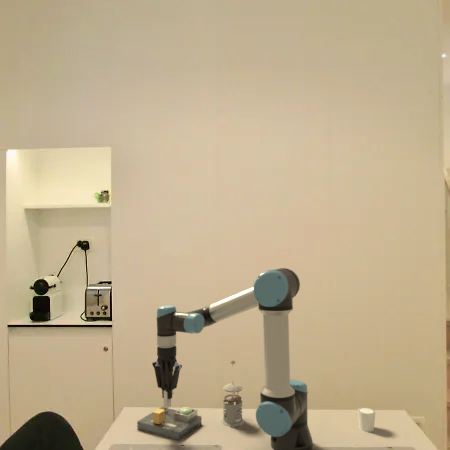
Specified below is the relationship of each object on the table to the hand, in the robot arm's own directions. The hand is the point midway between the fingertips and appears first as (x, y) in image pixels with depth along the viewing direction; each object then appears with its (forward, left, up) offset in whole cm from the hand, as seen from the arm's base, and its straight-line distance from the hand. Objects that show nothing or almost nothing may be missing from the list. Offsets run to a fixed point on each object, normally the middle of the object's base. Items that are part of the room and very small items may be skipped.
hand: (167, 406), depth 157 cm
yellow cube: (+4, 0, -6) cm, 8 cm away
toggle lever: (+8, -8, -6) cm, 13 cm away
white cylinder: (-68, -40, -10) cm, 80 cm away
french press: (-18, -21, -10) cm, 30 cm away
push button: (-3, -9, -7) cm, 11 cm away
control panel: (+2, -4, -10) cm, 11 cm away
